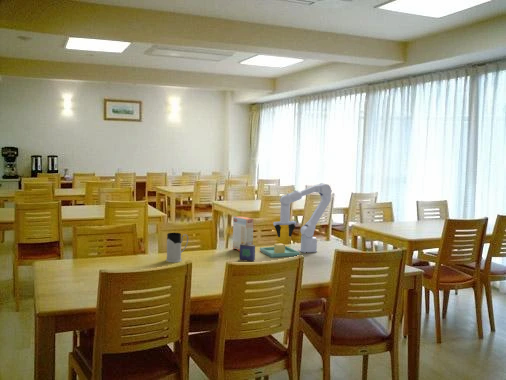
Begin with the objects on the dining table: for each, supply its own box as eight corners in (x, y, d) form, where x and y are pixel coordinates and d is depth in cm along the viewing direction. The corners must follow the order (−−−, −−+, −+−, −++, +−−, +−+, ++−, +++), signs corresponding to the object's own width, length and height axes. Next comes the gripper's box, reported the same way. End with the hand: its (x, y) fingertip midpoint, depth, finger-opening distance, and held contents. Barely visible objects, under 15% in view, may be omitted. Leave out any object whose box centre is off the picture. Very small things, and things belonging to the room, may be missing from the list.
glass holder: (162, 260, 256) (162, 233, 254) (182, 256, 266) (183, 230, 265) (172, 263, 250) (172, 235, 248) (192, 259, 260) (192, 232, 259)
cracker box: (253, 252, 281) (254, 218, 279) (245, 253, 277) (245, 219, 275) (240, 248, 292) (241, 215, 290) (232, 249, 288) (233, 216, 287)
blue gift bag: (255, 260, 260) (255, 241, 259) (253, 261, 257) (253, 242, 256) (240, 259, 263) (240, 240, 262) (238, 260, 260) (238, 241, 259)
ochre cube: (281, 251, 282) (281, 243, 282) (284, 253, 277) (285, 245, 277) (274, 251, 280) (274, 243, 280) (277, 253, 276) (277, 245, 275)
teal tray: (286, 249, 291) (286, 246, 291) (299, 255, 274) (299, 252, 274) (260, 251, 284) (260, 247, 284) (271, 257, 268) (271, 253, 267)
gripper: (276, 216, 276) (276, 238, 278) (298, 215, 282) (297, 237, 283) (272, 214, 283) (271, 236, 284) (293, 213, 288) (292, 235, 289)
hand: (284, 236), depth 284 cm, fingers open, 7 cm apart
